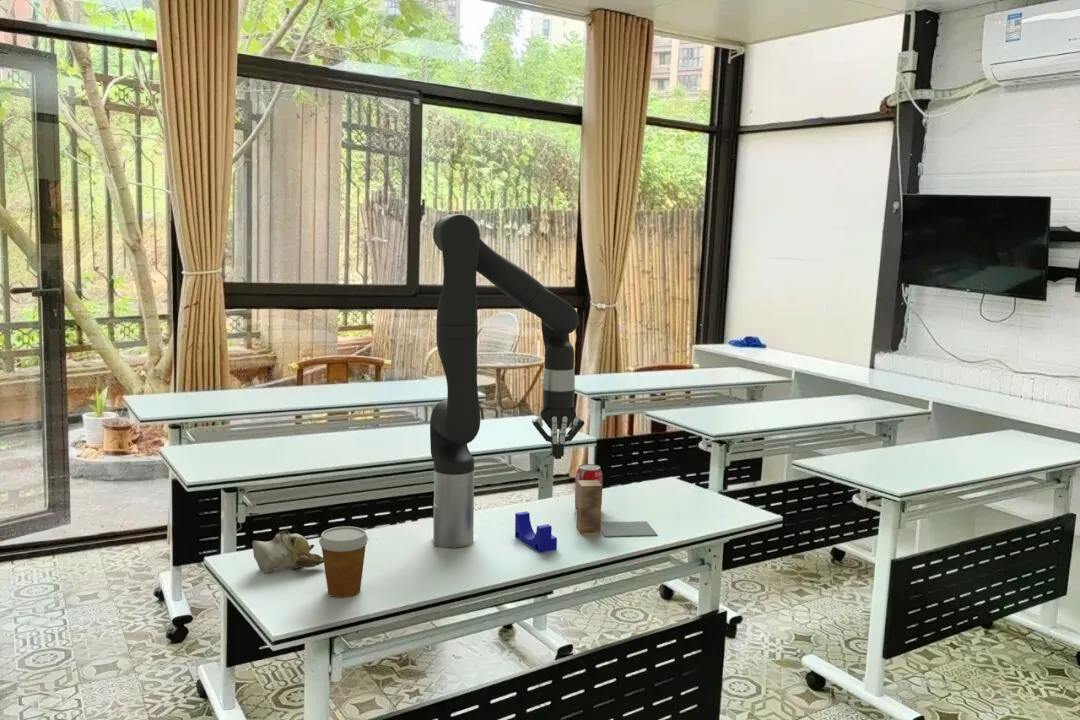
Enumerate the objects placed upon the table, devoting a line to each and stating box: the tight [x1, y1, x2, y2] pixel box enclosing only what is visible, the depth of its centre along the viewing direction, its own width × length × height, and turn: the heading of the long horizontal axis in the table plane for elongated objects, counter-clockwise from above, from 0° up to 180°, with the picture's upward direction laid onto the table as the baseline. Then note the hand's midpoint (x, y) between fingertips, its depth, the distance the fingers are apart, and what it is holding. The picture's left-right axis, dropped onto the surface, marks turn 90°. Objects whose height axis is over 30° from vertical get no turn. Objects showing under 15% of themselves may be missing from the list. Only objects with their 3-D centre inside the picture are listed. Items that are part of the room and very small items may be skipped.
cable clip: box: [514, 511, 558, 554], centre depth 205 cm, size 12×4×6 cm, turn 29°
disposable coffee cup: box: [318, 525, 369, 598], centre depth 174 cm, size 10×10×12 cm
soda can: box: [574, 463, 603, 511], centre depth 229 cm, size 7×7×12 cm
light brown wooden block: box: [575, 480, 603, 535], centre depth 214 cm, size 5×5×12 cm
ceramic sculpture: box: [251, 529, 324, 574], centre depth 187 cm, size 11×9×15 cm
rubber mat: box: [600, 520, 658, 538], centre depth 216 cm, size 13×10×1 cm
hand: (557, 458), depth 211 cm, fingers closed
